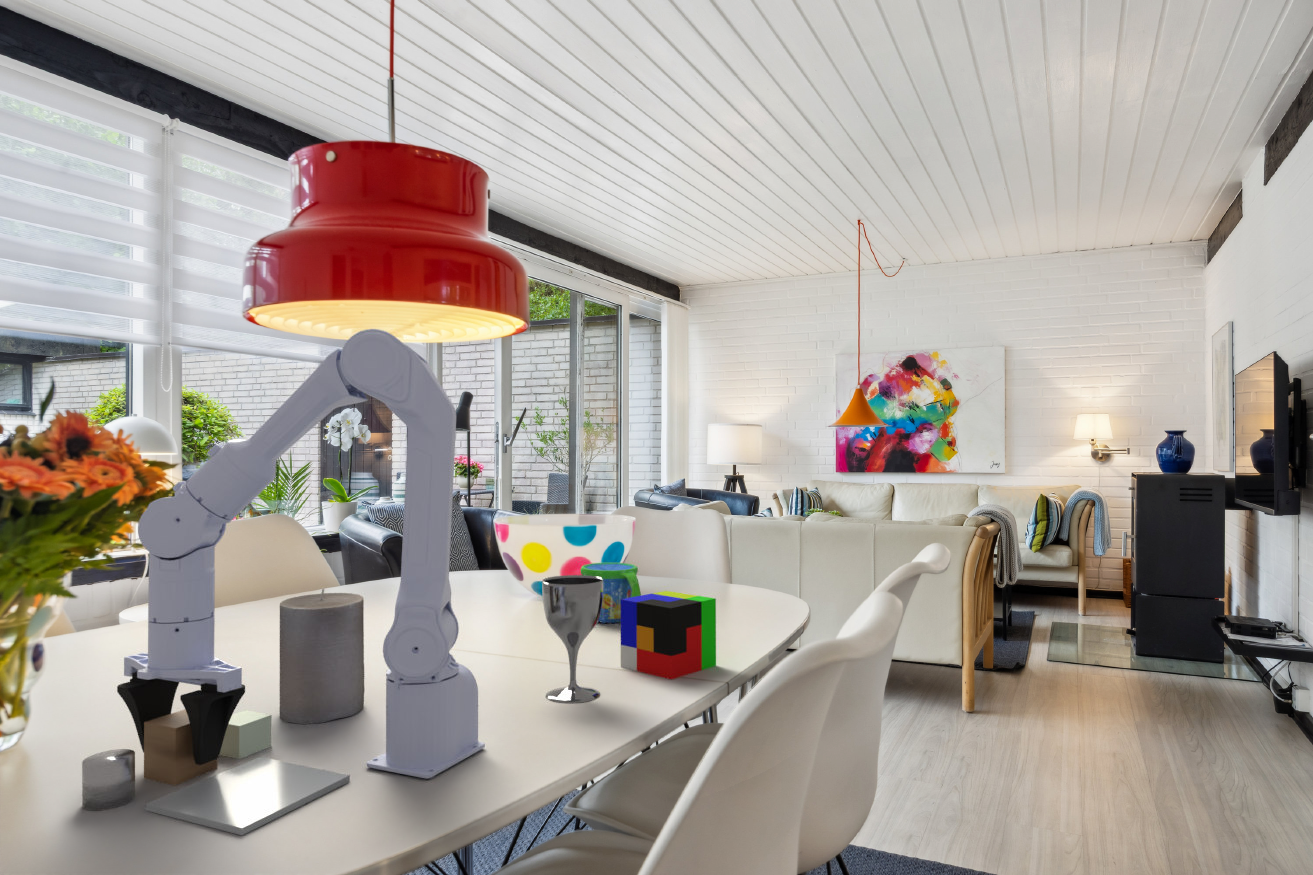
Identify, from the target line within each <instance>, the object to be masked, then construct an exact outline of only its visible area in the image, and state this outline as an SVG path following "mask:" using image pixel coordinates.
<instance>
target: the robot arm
mask: <svg viewBox="0 0 1313 875" xmlns="http://www.w3.org/2000/svg"><path fill="white" fill-rule="evenodd" d="M366 395H368V396H370V397H372V398H374V399H376V400H378V401H380V402H381V403H383V404H385V406H386V407H387V408H388V409H389V410H390V411H391V412H392V413H393V414H394V415H395V416H396V417H397V418H398V419H399V420H401V422H402V423H404V425H406V427H407V438H406V439H407V443H406V445H407V446H406V464H405V465H406V466H405V484H404V503H403V504H404V505H403V523H402V527H403V528H402V544H401V546H402V548H401V549H402V550H401V564H400V565H401V566H400V569H401V570H400V582H399V583H400V584H399V588H398V592H397V597H396V601H395V605H394V606H395V607H394V616H393V617H394V618H393V622H392V625H391V627H390V629H389V630H388V632H387V634H386V635H385V637H384V641H383V645H382V653H383V654H382V655H383V658H384V663H385V665H386V667H388V668H387V670H386V672H385V676H386V678H385V679H386V683H385V687H386V688H385V693H386V695H385V752H384V753H382V754H380V755H378V756H376V757H373V758H372V759H370V760H368V761H366V767H367V768H370V769H375V770H380V771H386V772H391V773H394V774H395V773H396V774H400V775H406V776H410V777H411V776H412V777H416V778H421V779H431V778H434V777H435V776H436V775H437V776H438V774H440V773H441V772H444V771H446V770H448V769H449V768H451V767H453V766H454V765H456V764H459V762H461V761H463V760H465V759H466V758H469V757H471V756H472V755H473V754H476V753H477V752H479V751H481V750H482V749H485V747H486V745H485V742H483V741H479V687H478V684H477V680H476V677H475V676H474V674H473V672H472V671H471V670H470V669H469V668H468V667H466V666H465V665H463V664H461V663H459V662H456V659H455V658H454V656H453V655H452V654H451V653H450V651H451V650H452V648H453V647H454V645H455V644H456V642H457V640H458V636H459V630H460V629H459V628H460V626H459V622H458V619H457V616H456V614H455V613H454V610H453V607H452V588H451V582H450V565H451V564H450V558H451V541H452V540H451V537H452V518H453V500H454V499H453V496H454V493H453V492H454V476H455V475H454V474H455V472H454V471H455V453H456V452H455V451H456V434H457V433H456V430H457V429H456V428H457V413H456V412H457V411H456V407H455V405H454V404H453V402H452V401H451V399H450V397H449V396H448V395H447V392H446V391H445V389H444V388H443V386H442V384H441V383H440V382H439V379H438V378H437V376H436V375H435V374H434V372H433V370H432V368H431V366H430V364H429V363H428V361H427V360H426V359H424V357H422V356H421V355H420V354H419V353H418V352H416V351H415V350H414V349H412V348H411V347H409V345H406V344H405V343H404V342H402V341H401V339H399V338H397V337H396V336H395V335H393V334H392V333H390V332H388V331H385V330H384V329H379V328H369V329H364V330H360V331H358V332H356V333H354V334H353V335H351V337H349V338H348V339H347V341H346V342H345V343H344V345H343V347H342V348H341V349H340V348H337V349H335V350H334V351H333V352H331V353H329V354H328V355H327V356H326V357H325V358H324V360H323V361H322V362H320V364H319V365H318V367H317V368H316V369H315V370H314V371H313V372H312V373H311V374H310V375H309V376H308V377H307V379H305V380H304V381H303V382H302V383H301V385H300V386H298V388H296V390H295V391H294V392H293V393H292V394H291V395H290V396H289V397H288V398H286V401H284V402H283V403H282V405H280V406H279V407H278V409H277V410H276V411H275V412H274V413H273V414H272V415H271V416H269V418H268V419H267V420H266V421H265V422H264V423H263V424H262V425H260V427H259V428H258V430H257V431H256V432H254V434H252V436H251V437H250V438H249V439H230V440H228V441H227V442H226V443H225V444H214V445H213V447H211V448H210V449H209V450H208V451H207V455H208V456H209V457H210V458H209V459H207V461H206V462H205V463H204V464H202V465H201V466H200V467H199V468H198V469H197V470H196V472H194V473H193V474H192V475H191V476H190V477H189V478H188V479H187V480H186V481H185V480H180V481H178V482H177V483H176V484H175V485H174V486H172V490H173V491H174V496H168V497H162V498H161V497H160V498H158V499H155V500H153V501H151V502H150V503H149V504H148V505H147V508H146V509H145V511H144V512H143V513H142V514H141V516H140V518H139V521H138V525H137V535H138V539H139V541H140V544H141V545H142V546H143V548H145V550H146V551H147V552H148V553H149V554H148V595H147V599H148V600H147V603H148V604H147V606H148V609H147V615H148V616H147V652H141V653H136V654H132V655H131V654H130V655H128V656H124V658H123V676H124V677H131V678H130V679H129V681H127V682H123V683H120V684H118V685H117V686H116V691H117V694H118V695H119V697H120V698H121V699H122V701H123V702H124V703H125V705H126V707H127V709H128V711H129V713H130V715H131V718H132V720H133V723H134V726H135V729H136V732H137V735H138V736H137V737H138V740H139V744H140V746H141V749H142V753H144V722H146V721H149V720H153V719H156V718H159V717H162V716H165V715H169V714H172V709H173V706H174V705H173V704H174V700H175V697H176V696H175V695H176V693H177V689H178V687H179V685H180V683H182V684H189V685H194V686H200V689H197V690H195V691H190V692H187V693H184V694H181V695H180V698H179V699H180V702H181V704H182V705H183V708H184V710H186V712H187V715H188V718H189V722H190V727H191V733H192V747H193V756H194V760H195V763H196V764H198V765H202V764H205V763H208V762H210V761H213V760H215V759H217V760H218V759H219V758H220V755H219V754H220V751H221V747H222V744H223V740H224V736H225V733H226V730H227V727H228V724H229V721H230V719H231V716H232V714H234V711H235V710H236V708H237V706H238V705H239V703H240V701H241V700H242V698H243V696H244V695H245V693H246V685H245V684H242V682H243V680H242V679H243V678H242V675H243V672H242V671H243V669H242V667H241V666H236V665H232V664H230V663H228V662H226V661H223V660H222V659H220V658H218V657H216V656H215V619H216V618H215V595H216V594H215V593H216V591H215V590H216V588H215V587H216V585H215V584H216V582H215V581H216V571H215V570H216V569H215V563H216V562H215V551H216V549H215V548H216V546H217V544H218V543H220V541H221V540H222V538H223V536H224V535H225V531H226V529H227V524H229V523H231V522H232V521H234V519H235V518H236V517H237V516H238V515H239V514H240V513H241V512H242V511H243V510H244V509H245V508H246V507H247V506H249V504H250V503H252V502H253V500H254V499H255V498H257V497H258V496H259V495H260V494H261V493H262V492H264V490H265V489H266V488H267V487H268V486H270V484H271V483H272V482H273V481H274V480H275V479H276V476H277V475H276V470H277V469H276V468H277V460H278V459H279V458H280V457H282V456H283V455H284V454H285V453H286V452H288V451H289V450H290V449H291V448H292V447H293V446H294V445H295V444H296V443H298V442H299V440H301V439H302V438H303V437H304V436H305V435H306V434H307V433H309V432H310V431H311V430H312V429H313V428H315V427H316V426H317V425H318V424H319V423H321V421H322V420H324V419H325V418H326V417H327V416H328V415H329V414H330V413H332V411H334V410H335V409H337V408H340V407H346V406H350V405H354V404H360V403H364V402H368V398H367V396H366Z"/></svg>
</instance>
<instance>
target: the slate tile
mask: <svg viewBox="0 0 1313 875" xmlns="http://www.w3.org/2000/svg"><path fill="white" fill-rule="evenodd" d="M350 776H351V775H350V774H345V773H341V772H335V771H332V770H331V771H330V770H325V769H323V768H322V769H321V768H316V767H311V766H306V765H301V764H296V763H291V762H287V761H281V760H277V759H271V758H267V757H262V756H258V757H257V758H254V759H252V760H249V761H247V762H245V763H242V764H239V765H237V766H234V767H233V768H232V767H231V768H230V769H227V770H224V771H222V772H220V773H218V774H217V773H216V774H215V775H213V776H210V777H208V778H207V777H206V778H205V779H203V780H200V781H198V782H195V783H193V784H191V785H187V786H185V787H183V788H180V789H178V790H176V791H173V792H170V793H168V794H166V795H163V796H160V797H159V798H156V799H154V800H151V801H149V802H146V803H145V811H147V812H151V813H154V814H159V815H163V816H165V817H169V818H174V819H176V820H180V821H185V822H189V823H193V824H197V825H199V826H200V825H202V826H204V827H208V828H212V829H216V830H220V831H224V832H227V833H231V834H234V835H239V836H244V835H246V834H248V833H250V832H252V831H254V830H255V829H258V828H260V827H261V826H264V825H266V824H268V823H270V822H272V821H273V820H276V819H278V818H280V817H283V816H284V815H286V814H288V813H290V812H291V811H294V810H295V809H298V808H301V807H302V806H304V805H306V804H308V803H309V802H312V801H314V800H315V799H317V798H320V797H322V796H324V795H325V794H327V793H330V792H331V791H334V790H335V789H339V787H342V786H345V785H346V784H347V783H350V781H351V777H350Z"/></svg>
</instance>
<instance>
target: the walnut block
mask: <svg viewBox="0 0 1313 875" xmlns="http://www.w3.org/2000/svg"><path fill="white" fill-rule="evenodd" d="M215 770H218V759H215V760H213V761H210V762H208V763H205V764H202V765H198V764H196V763H195V760H194V756H193V747H192V733H191V727H190V722H189V718H188V715H187V712H186V710H185V709H182V710H179V711H175V712H171V714H169V715H165V716H162V717H159V718H156V719H153V720H149V721H146V722H144V752H143V779H146V780H149V781H155V782H158V783H162V784H167V785H169V786H179V785H180V784H182V783H186V782H188V781H191V780H192V779H196V778H198V777H200V775H201V776H203V775H206V774H208V773H210V772H212V771H215ZM197 776H198V777H197Z"/></svg>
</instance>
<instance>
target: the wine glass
mask: <svg viewBox="0 0 1313 875" xmlns="http://www.w3.org/2000/svg"><path fill="white" fill-rule="evenodd" d="M541 583H542V585H541V586H542V587H541V588H542V589H541V590H542V604H543V611H544V614H545V619H546V622H547V625H549V627H550V628H551V630H552V631H553V632H554V633H555V635H556V636H557V637H558V638H559V640H561V642H562V643H563V645H564V647H565V649H566V651H567V655H568V662H569V663H568V664H569V684H568V685H567V686H564V687H559V688H554V689H552V690H549V691H547V692H546V694H545V698H546V699H547V700H549V701H551V702H555V703H561V704H579V703H585V702H587V703H588V702H590V701H594V700H596V699H598V698H599V697H600V696H601V692H600V691H599V690H597V689H595V688H593V687H588V686H579V685H578V684H577V663H578V662H577V661H578V655H579V650H580V648H581V646H582V644H583V643H584V641H585V639H587V637H588V636H589V635H590V634H591V632H592V631H593V630H594V629H595V627H596V626H597V624H598V623H599V622H598V620H599V617H600V613H601V608H602V602H603V578H600V577H596V576H588V575H582V574H570V575H556V576H555V575H554V576H550V577H549V576H548V577H545V578H543V579H542V582H541Z"/></svg>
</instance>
